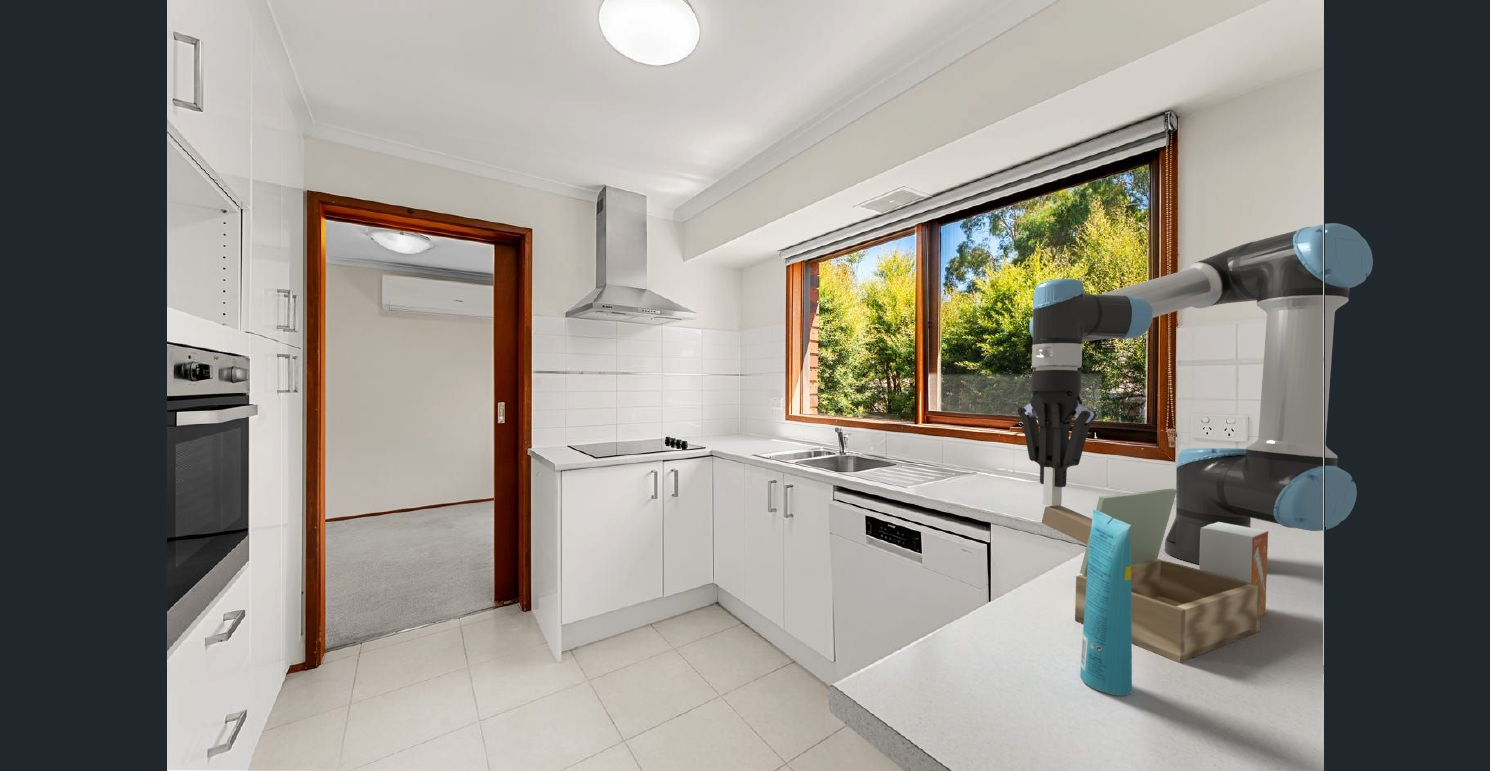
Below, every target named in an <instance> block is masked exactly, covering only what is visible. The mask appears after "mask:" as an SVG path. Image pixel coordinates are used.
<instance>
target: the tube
mask: <svg viewBox="0 0 1490 771" xmlns="http://www.w3.org/2000/svg"><path fill="white" fill-rule="evenodd" d="M1091 519H1092V525H1091V534H1090V544H1089V556H1088V569H1087V584H1086V597H1085V612H1084V624H1083V631H1082V642H1081V644H1082V645H1081V658H1080V674H1079V675H1080V679H1081V680H1082V682H1083V683H1085V684H1086V685H1087V686H1089V687H1090V688H1093V690H1097V691H1099V692H1103V693H1105V694H1108V695H1109V694H1110V695H1112V696H1113V695H1114V696H1128V695H1131V693H1132V692H1133V691H1132V689H1133V688H1132V687H1133V678H1132V677H1133V667H1132V666H1133V658H1132V657H1133V655H1132V654H1133V652H1132V647H1133V646H1132V645H1133V644H1132V608H1131V548H1130V528H1131V525H1129V524H1127V523H1124V522H1122V521H1120V520H1117V519H1115V518H1112V517H1110V516H1108V515H1106V514H1104V513H1102V512H1099V511H1097V510H1096V509H1095V508H1094V509H1092V518H1091Z"/></svg>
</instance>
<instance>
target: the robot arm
mask: <svg viewBox="0 0 1490 771" xmlns="http://www.w3.org/2000/svg"><path fill="white" fill-rule="evenodd" d="M1324 224H1325V527H1326V530H1329V529H1332V528H1334V527H1336V526H1338V525H1339V524H1340V523H1341V522H1342V521H1344V520H1346V519H1347V518H1348V517H1349V515H1350V514H1351V512H1352V510H1353V509H1354V506H1355V505H1356V504H1355V503H1356V500H1357V485H1356V483H1355V482H1354V481H1353V477H1352V475H1351V474H1350V473H1348V472H1347V471H1345V470H1343V469H1341V468H1340V467H1338V454H1335V453H1334V452H1333V451H1332V450H1331V449H1330V448H1328V446H1327V445H1326V442H1327V427H1328V426H1327V424H1328V414H1329V413H1328V412H1329V399H1330V385H1331V381H1330V380H1331V370H1332V359H1333V358H1332V357H1333V356H1332V355H1333V344H1334V342H1333V341H1334V327H1335V314H1336V313H1335V312H1336V311H1337V310H1338V309H1339V308H1341V307H1342V306H1343V305H1345V304H1347V303H1348V302H1349V298H1350V288H1355V287H1357V286H1358V285H1361V284H1362V283H1364V282H1365V281H1366V280H1367V277H1369V276H1370V275H1371V272H1372V271H1373V266H1374V264H1373V263H1374V262H1373V261H1374V258H1373V253H1372V250H1371V247H1370V245H1369V243H1368V242H1367V240H1366V239H1365V238H1364V237H1362V235H1361V234H1360V233H1359V231H1357V230H1356V229H1354V228H1352V227H1350V226H1348V225H1346V224H1345V225H1344V224H1343V223H1336V222H1335V223H1333V222H1332V223H1324ZM1254 301H1255V302H1256V306H1257V307H1258V308H1260V309H1261V310H1262V311H1263V312H1266V324H1265V326H1266V327H1265V336H1264V337H1265V339H1264V351H1263V353H1264V354H1263V366H1262V368H1263V369H1262V379H1261V380H1262V381H1261V393H1260V394H1261V396H1260V407H1259V408H1260V409H1259V410H1260V411H1259V420H1258V421H1259V422H1258V423H1259V424H1258V434H1257V435H1258V436H1257V440H1256V441H1254V442H1253V443H1251V444H1250V445H1248V446H1246V448H1241V447H1240V448H1239V447H1238V448H1236V447H1235V448H1234V447H1233V448H1232V447H1231V448H1228V447H1227V448H1226V447H1225V448H1223V447H1222V448H1221V447H1220V448H1218V447H1217V448H1215V447H1213V448H1210V447H1208V448H1207V447H1206V448H1203V447H1201V448H1200V447H1199V448H1198V447H1197V448H1185V449H1182V450H1180V451H1179V454H1178V457H1177V465H1176V466H1175V470H1176V473H1175V474H1176V486H1175V488H1176V490H1177V492H1176V495H1175V499H1176V502H1175V504H1176V508H1175V509H1176V510H1175V518H1174V520H1173V523H1172V524H1171V527H1170V529H1169V532H1168V533H1167V536H1166V538H1165V541H1164V552H1165V553H1166V554H1168V555H1169V556H1172V557H1173V558H1177V559H1179V560H1183V561H1186V562H1189V563H1193V564H1198V565H1199V561H1200V530H1201V527H1205V526H1207V525H1209V524H1214V523H1217V522H1222V523H1227V524H1233V525H1238V526H1244V527H1249V528H1252V527H1251V526H1252V524H1251V521H1252V519H1255V520H1260V521H1263V522H1269V523H1272V524H1273V523H1274V524H1277V525H1279V526H1282V527H1285V528H1288V529H1298V530H1304V531H1310V532H1321V531H1324V530H1323V224H1319V225H1314V226H1305V227H1301V228H1299V229H1297V230H1294V231H1290V232H1286V233H1282V234H1279V235H1278V234H1277V235H1274V236H1270V237H1266V238H1263V239H1258V240H1256V241H1255V240H1254V241H1250V242H1246V243H1243V244H1240V245H1238V246H1234V247H1232V248H1230V249H1227V250H1224V251H1222V252H1220V253H1217V254H1215V255H1212V256H1209V257H1207V258H1204V259H1201V260H1198V261H1195V262H1191V263H1189V264H1186V265H1185V266H1183V267H1182V268H1181V269H1180V271H1179V272H1174V273H1170V274H1167V275H1164V276H1160V277H1156V278H1153V279H1150V280H1146V281H1143V282H1139V283H1135V284H1132V285H1127V286H1125V287H1121V288H1118V289H1114V290H1111V291H1107V292H1104V293H1100V294H1091V293H1086V292H1085V287H1084V282H1083V281H1082V280H1080V279H1076V278H1058V279H1050V280H1045V281H1042V282H1040V283H1038V284H1037V285H1036V287H1035V288H1034V294H1033V303H1032V308H1031V310H1032V318H1031V319H1030V321H1029V329H1028V330H1029V332H1030V335H1031V338H1032V345H1031V346H1032V348H1031V349H1032V352H1031V353H1032V354H1031V366H1032V367H1033V368H1034V369H1035V370H1032V372H1031V373H1030V374H1031V376H1030V379H1031V380H1030V390H1031V391H1032V396H1031V397H1030V400H1029V403H1027V405H1025V406H1024V407H1018V408H1017V414H1018V416H1019V418H1020V420H1021V421H1022V428H1023V432H1024V436H1025V442H1026V447H1027V448H1026V449H1027V453H1028V458H1029V460H1030V461H1031V462H1034V463H1037V464H1038V466H1039V483H1040V484H1041V485H1043V494H1042V495H1043V497H1042V498H1043V499H1042V500H1043V501H1042V504H1043V505H1046V506H1057V505H1061V506H1062V500H1063V498H1062V496H1063V492H1062V491H1063V489H1062V488H1065V487H1066V486H1067V478H1068V477H1067V472H1068V468H1070V467H1075V466H1079V464H1080V463H1081V462H1080V461H1081V459H1082V455H1083V451H1084V447H1085V444H1086V440H1087V437H1088V433H1089V430H1090V427H1091V424H1092V423H1093V421H1094V420H1095V419H1096V418H1097V415H1098V414H1097V412H1096V411H1094V410H1089V409H1088V408H1086V407H1085V406H1083V401H1082V399H1081V397H1080V392H1081V391H1082V372H1081V371H1079V370H1078V369H1079V368H1081V367H1082V362H1083V361H1082V360H1083V359H1082V358H1083V342H1088V341H1096V340H1105V339H1107V340H1108V339H1118V340H1127V339H1138V338H1140V337H1142V336H1143V335H1145V334H1146V332H1148V330H1149V329H1150V328H1151V325H1152V323H1153V319H1154V318H1157V317H1160V316H1164V315H1166V314H1171V313H1175V312H1177V311H1182V310H1185V309H1188V308H1194V309H1206V308H1209V307H1213V306H1218V305H1223V304H1224V305H1225V304H1231V303H1232V304H1234V303H1242V302H1243V303H1245V302H1254ZM1036 416H1037V417H1038V418H1036ZM1074 417H1075V418H1076V419H1075V420H1074V423H1073V426H1072V420H1073V418H1074ZM1071 428H1072V429H1071ZM1070 429H1071V433H1070ZM1326 530H1325V531H1326Z"/></svg>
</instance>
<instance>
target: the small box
mask: <svg viewBox="0 0 1490 771" xmlns="http://www.w3.org/2000/svg"><path fill="white" fill-rule="evenodd" d="M1268 541H1269V530H1265V529H1259V528H1254V527H1251V528H1249V527H1244V526H1238V525H1233V524H1227V523H1222V522H1217V523H1214V524H1209V525H1207V526H1205V527H1201V530H1200V561H1199V564H1198V565H1199V568H1198V569H1199V570H1203V571H1207V572H1211V573H1214V574H1218V575H1222V576H1226V577H1230V578H1233V579H1237V580H1241V581H1245V582H1249V583H1252V584H1256V585H1260V586H1261V599H1260V617H1262V616H1264V615H1265V614H1266V608H1267V605H1266V603H1267V601H1266V600H1267V578H1268V577H1267V576H1268V575H1267V573H1268V546H1269V544H1268Z"/></svg>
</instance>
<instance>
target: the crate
mask: <svg viewBox="0 0 1490 771" xmlns="http://www.w3.org/2000/svg"><path fill="white" fill-rule="evenodd" d="M1086 584H1087V575H1083V574H1081V575H1075V600H1074V601H1075V606H1074V607H1075V609H1074V621H1075V622H1077V623H1080V624H1082V625H1084V612H1085V597H1086ZM1260 599H1261V586H1260V585H1256V584H1252V583H1249V582H1245V581H1241V580H1237V579H1233V578H1230V577H1226V576H1222V575H1218V574H1214V573H1211V572H1207V571H1203V570H1199V568H1195V567H1190V566H1187V565H1183V564H1180V563H1177V562H1176V563H1175V562H1172V561H1168V560H1165V559H1161V558H1157V559H1154V560H1150V561H1145V562H1141V563H1136V564H1132V565H1131V608H1132V645H1135V646H1138V647H1139V648H1142V649H1144V650H1148V651H1149V652H1152V653H1154V654H1157V655H1159V656H1162V657H1165V658H1167V659H1169V660H1172V661H1174V662H1177V663H1179V664H1180V663H1184V662H1186V661H1189V660H1190V659H1193V658H1196V657H1199V656H1201V655H1203V654H1206V653H1208V652H1211V651H1214V650H1216V649H1218V648H1220V647H1223V646H1226V645H1229V644H1230V643H1234V642H1236V641H1239V640H1241V639H1243V638H1246V637H1248V636H1251V635H1253V634H1256V633H1259V632H1260V631H1261V627H1260V626H1261V616H1260Z"/></svg>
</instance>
